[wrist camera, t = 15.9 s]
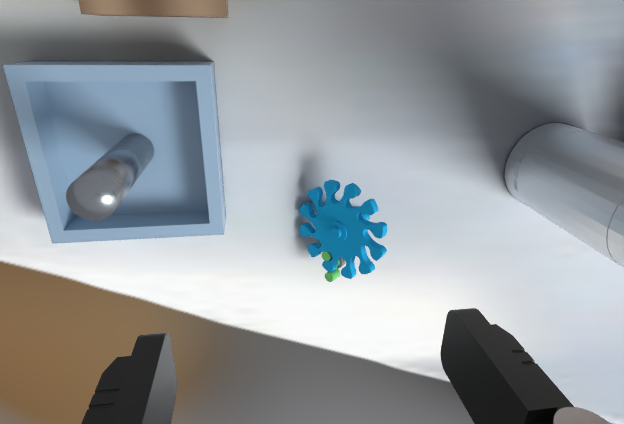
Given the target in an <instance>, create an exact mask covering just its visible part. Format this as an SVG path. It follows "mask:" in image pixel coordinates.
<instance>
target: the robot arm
mask: <svg viewBox="0 0 624 424" xmlns="http://www.w3.org/2000/svg"><path fill="white" fill-rule="evenodd" d="M505 183H506V186H507V188H508V190H509V192H510V193H511V195H512V196H514V197H515V198H516V199H517V200H519V201H520V202H522V203H523V204H525V205H527V206H528V207H530V208H531V209H533V210H534V211H536V212H537V213H539V214H540V215H542V216H544V217H545V218H547V219H548V220H550V221H551V222H553V223H555V224H556V225H558V226H559V227H561V228H562V229H564V230H566V231H567V232H569V233H570V234H572V235H573V236H575V237H577V238H578V239H580V240H581V241H583V242H584V243H586V244H588V245H589V246H591V247H592V248H594V249H596V250H597V251H599V252H600V253H602V254H603V255H605V256H607V257H608V258H610V259H611V260H613V261H614V262H616V263H618V264H619V265H621V266H623V267H624V142H622V141H618V140H615V139H612V138H609V137H605V136H602V135H599V134H596V133H593V132H590V131H586V130H583V129H580V128H576V127H573V126H570V125H566V124H562V123H549V124H545V125H541V126H539V127H537V128H535V129H533V130H532V131H530V132H529V133H527V134H526V135H525V136H524V137H523V138H521V139H520V140H519V141H518V143H517V144H516V145H515V147H514V148H513V149H512V151H511V153H510V155H509V157H508V160H507V163H506V167H505ZM441 361H442V366H443V369H444V371H445V373H446V375H447V376H448V378H449V380H450V382H451V383H452V385H453V387H454V389H455V390H456V392H457V394H458V395H459V397H460V399H461V401H462V403H463V404H464V406H465V408H466V409H467V411H468V413H469V415H470V416H471V418H472V420H473V422H474V423H475V424H610V423H609V422H608V421H606V420H605V419H603V418H602V417H600V416H599V415H597V414H595V413H593V412H590V411H588V410H585V409H582V408H577V407H574V406H573V405H572V404H571V403H570V402H569V400H568V399H567V398H566V397H565V396H564V395H563V393H562V392H561V391H560V390H559V389H558V388H557V386H556V385H555V384H554V383H553V382H552V381H551V380H550V378H549V377H548V376H547V375H546V374H545V373H544V371H543V370H542V369H541V368H540V367H539V366H538V364H535V363H534V360H533V359H532V357H531V356H530V355H529V354H528V353H527V352H525V351H524V348H523V347H522V346H521V345H520V344H519V342H518V341H517V340H516V339H515V338H514V337H513V335H511V334H510V333H508V332H507V331H505V330H504V329H502V328H501V327H499V326H498V325H496V324H493V325H490V323H489V322H488V321H487V320H486V319H485V317H484V316H483V315H482V314H481V312H480V311H479V310H477V309H475V308H472V309H460V310H451V311H449V312H448V314H447V319H446V324H445V330H444V335H443V341H442V346H441ZM176 389H177V381H176V371H175V365H174V359H173V352H172V346H171V341H170V336H169V334H168V333H161V334H149V335H140V336H139V337H138V338H137V340H136V343H135V346H134V349H133V352H132V355H131V356H126V357H117V358H116V359H115V360H114V361H113V362H112V363H111V365H110V366H109V367H108V368H107V369H106V370H105V371H104V372H103V373H102V376H101V379H100V380H99V383H98V385H97V388H96V390H95V394H94V395H93V397H92V400H91V402H90V405H89V409H88V410H87V412H86V414H85V416H84V419H83V421H82V424H171V420H172V415H173V410H174V405H175V399H176Z"/></svg>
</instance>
